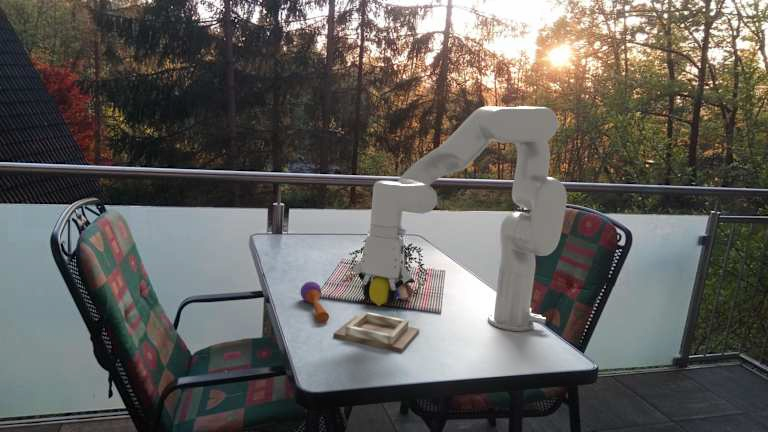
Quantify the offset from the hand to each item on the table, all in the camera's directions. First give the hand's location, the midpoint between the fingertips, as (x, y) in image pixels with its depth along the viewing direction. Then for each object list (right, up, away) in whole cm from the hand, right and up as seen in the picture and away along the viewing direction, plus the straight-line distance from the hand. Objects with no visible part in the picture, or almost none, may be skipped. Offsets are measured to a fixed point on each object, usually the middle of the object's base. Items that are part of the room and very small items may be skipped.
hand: (379, 300), depth 139 cm
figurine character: (+2, -4, +29) cm, 29 cm away
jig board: (-1, -9, +2) cm, 9 cm away
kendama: (-18, -5, +16) cm, 25 cm away
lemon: (0, -1, 0) cm, 1 cm away
